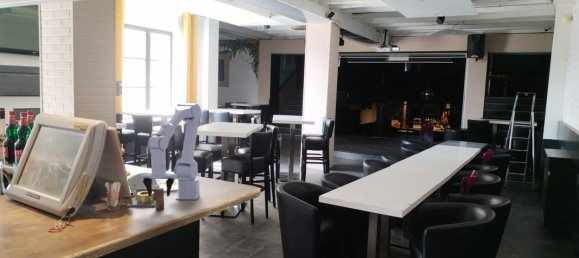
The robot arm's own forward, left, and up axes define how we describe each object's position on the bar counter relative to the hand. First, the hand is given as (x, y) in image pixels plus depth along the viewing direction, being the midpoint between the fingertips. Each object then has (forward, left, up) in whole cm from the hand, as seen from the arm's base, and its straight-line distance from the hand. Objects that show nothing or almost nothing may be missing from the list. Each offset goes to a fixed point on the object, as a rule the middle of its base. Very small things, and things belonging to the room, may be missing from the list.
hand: (159, 195), depth 180 cm
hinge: (+17, -28, -7) cm, 33 cm away
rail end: (0, 0, -6) cm, 6 cm away
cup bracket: (+9, -9, -6) cm, 14 cm away
